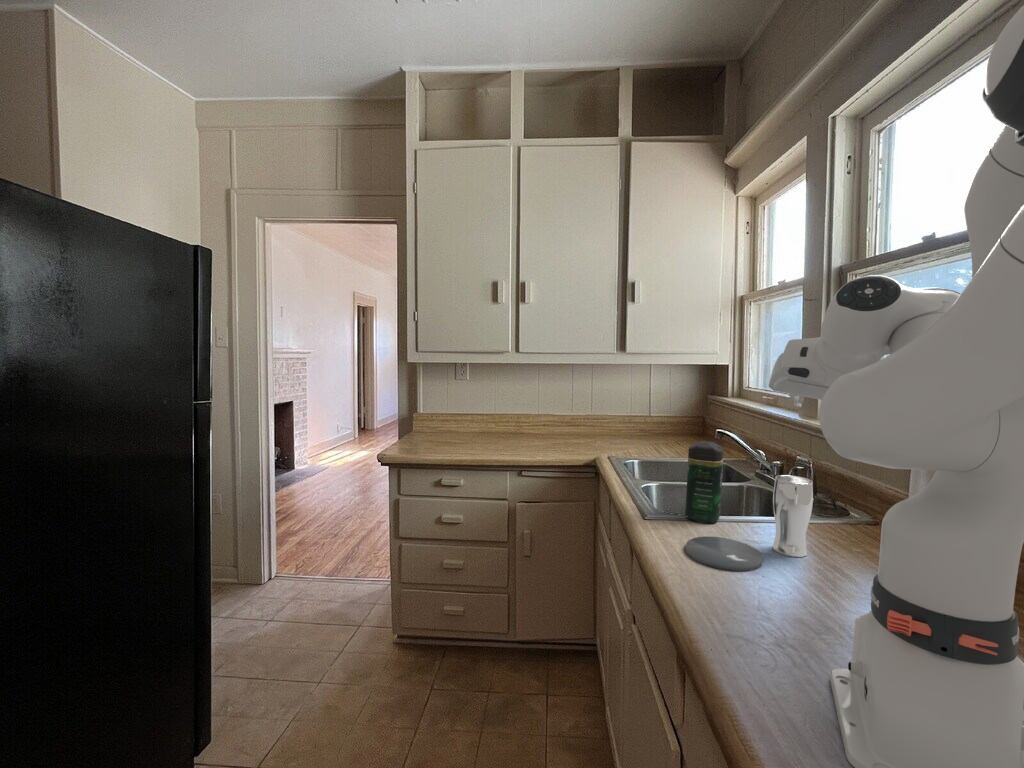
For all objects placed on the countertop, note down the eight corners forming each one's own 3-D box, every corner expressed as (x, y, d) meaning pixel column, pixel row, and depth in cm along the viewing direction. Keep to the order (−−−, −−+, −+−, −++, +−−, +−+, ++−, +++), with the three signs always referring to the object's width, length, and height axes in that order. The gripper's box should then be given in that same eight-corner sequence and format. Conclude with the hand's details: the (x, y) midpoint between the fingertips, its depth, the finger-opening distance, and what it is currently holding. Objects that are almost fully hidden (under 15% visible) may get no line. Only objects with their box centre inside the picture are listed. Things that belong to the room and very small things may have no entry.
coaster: (753, 578, 86) (753, 573, 86) (675, 556, 95) (675, 551, 95) (769, 553, 97) (769, 548, 97) (698, 535, 106) (698, 531, 106)
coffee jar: (719, 526, 112) (722, 447, 110) (683, 520, 115) (686, 444, 114) (721, 514, 120) (724, 440, 119) (688, 509, 124) (691, 437, 123)
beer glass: (815, 560, 94) (820, 485, 93) (776, 556, 96) (780, 482, 95) (801, 546, 101) (805, 475, 100) (765, 542, 102) (769, 473, 101)
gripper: (925, 359, 75) (898, 408, 85) (778, 338, 85) (770, 384, 95) (922, 391, 72) (894, 438, 83) (771, 365, 82) (763, 410, 93)
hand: (826, 409), depth 89 cm, fingers open, 8 cm apart
